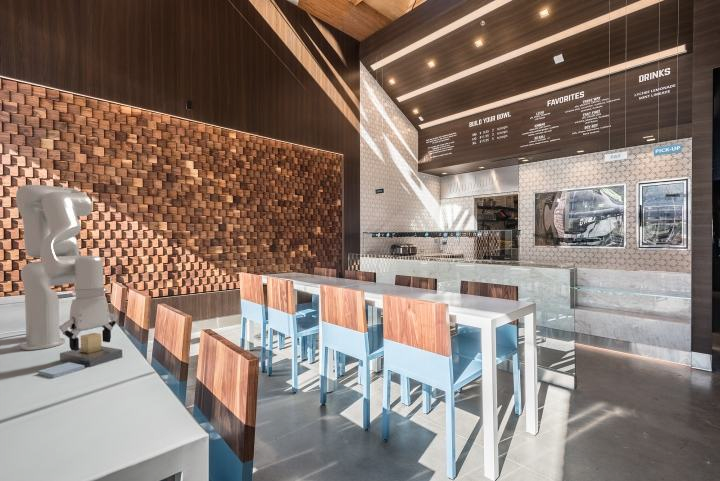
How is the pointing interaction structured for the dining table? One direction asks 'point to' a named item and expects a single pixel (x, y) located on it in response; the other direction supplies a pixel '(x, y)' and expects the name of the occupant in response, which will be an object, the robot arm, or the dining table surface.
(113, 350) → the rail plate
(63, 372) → the mat
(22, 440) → the dining table surface
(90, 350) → the brass block
